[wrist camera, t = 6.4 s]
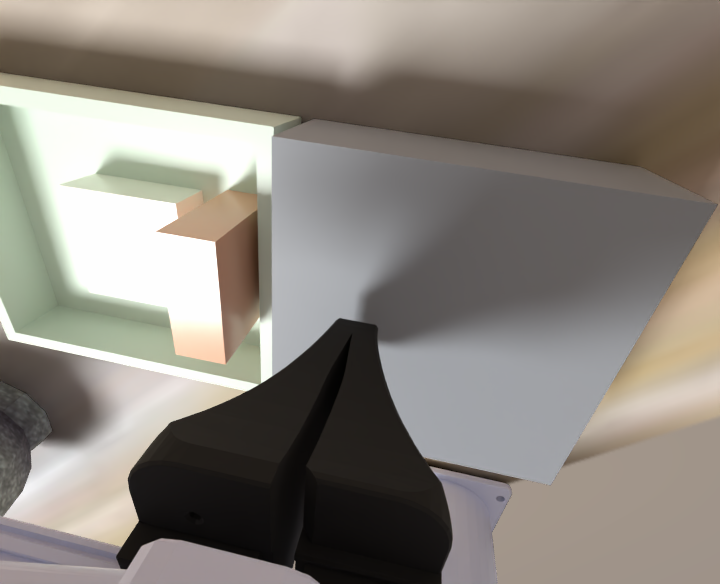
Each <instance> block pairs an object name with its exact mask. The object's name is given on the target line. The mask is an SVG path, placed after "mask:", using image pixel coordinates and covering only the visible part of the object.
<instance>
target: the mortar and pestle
mask: <svg viewBox="0 0 720 584" xmlns="http://www.w3.org/2000/svg"><path fill="white" fill-rule="evenodd" d="M51 432H52V428H51V426H50V423H49V420H48V417H47V414H46V412H45V411H44V410H43V409H42V408H41V407H40V406H39V405H37V404H36V403H35V402H34V401H33V400H32V399H31V398H30V397H29V396H28V395H27V394H26V393H24V392H22V391H20V390H18V389H16V388H14V387H12V386H10V385H8V384H6V383H4V382H1V381H0V516H2V517H3V516H4V515H5V513H6V512H7V511H8V509H9V508H10V507H11V505H12V504H13V503H14V501H15V500H16V499H17V498H18V496H19V495H20V494H21V492H22V491H23V489H24V486H25V483H26V481H27V478H28V475H29V472H30V470H31V450H33V449H34V448H35V447H36V446H38V445H39V444H40V443H41V442H42V441H43V440H44V439H45V438H46V437H47V436H48V435H49V434H50V433H51Z"/></svg>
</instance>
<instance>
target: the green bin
mask: <svg viewBox="0 0 720 584" xmlns="http://www.w3.org/2000/svg"><path fill="white" fill-rule="evenodd" d="M301 118H302V117H299V116H292V115H286V114H279V113H272V112H265V111H258V110H252V109H245V108H238V107H231V106H225V105H218V104H211V103H204V102H197V101H191V100H184V99H177V98H170V97H163V96H157V95H150V94H143V93H136V92H130V91H123V90H116V89H109V88H102V87H96V86H89V85H82V84H75V83H69V82H62V81H55V80H48V79H41V78H35V77H28V76H21V75H14V74H7V73H1V72H0V321H1V324H2V326H3V328H4V331H5V333H6V335H7V337H8V340H12V341H17V342H22V343H26V344H31V345H35V346H40V347H45V348H49V349H54V350H59V351H63V352H68V353H73V354H77V355H82V356H86V357H91V358H96V359H100V360H105V361H110V362H114V363H119V364H124V365H128V366H133V367H137V368H142V369H147V370H151V371H156V372H161V373H165V374H170V375H175V376H179V377H184V378H189V379H193V380H198V381H202V382H207V383H212V384H216V385H221V386H226V387H230V388H235V389H240V390H244V391H248V390H250V389H252V388H254V387H255V386H257V385H259V384H261V383H262V382H264V381H266V380H267V379H269V378H270V377H272V136H273V135H276V134H278V133H281V132H283V131H286V130H288V129H290V128H293V127H295V126H298V125H300V124H301ZM95 173H96V174H103V175H109V176H116V177H122V178H128V179H135V180H141V181H147V182H154V183H160V184H166V185H173V186H179V187H186V188H192V189H198V190H202V194H203V203H205V202H207V201H209V200H211V199H212V198H214V197H216V196H218V195H219V194H221V193H223V192H224V191H226V190H233V191H239V192H245V193H251V194H257V212H258V258H259V305H260V317H259V319H258V320H257V322H256V323H255V324H254V326H253V327H252V329H251V330H250V331H249V333H248V334H247V336H246V337H245V338H244V340H243V341H242V343H241V344H240V345H239V347H238V348H237V350H236V351H235V352H234V354H233V355H232V357H231V358H230V359H229V361H228V362H227V364H226V365H225V364H220V363H215V362H210V361H206V360H201V359H196V358H191V357H186V356H181V355H176V353H175V347H174V341H173V335H172V329H171V323H170V317H169V311H168V307H165V306H159V305H154V304H149V303H143V302H138V301H133V300H128V299H122V298H117V297H112V296H107V295H101V294H96V293H91V292H89V289H88V286H87V282H86V279H85V276H84V272H83V269H82V265H81V262H80V258H79V255H78V251H77V248H76V245H75V241H74V238H73V234H72V231H71V227H70V224H69V220H68V217H67V214H66V210H65V207H64V203H63V200H62V196H61V193H60V190H59V186H58V185H60V184H63V183H66V182H69V181H72V180H76V179H79V178H82V177H85V176H89V175H92V174H95Z"/></svg>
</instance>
